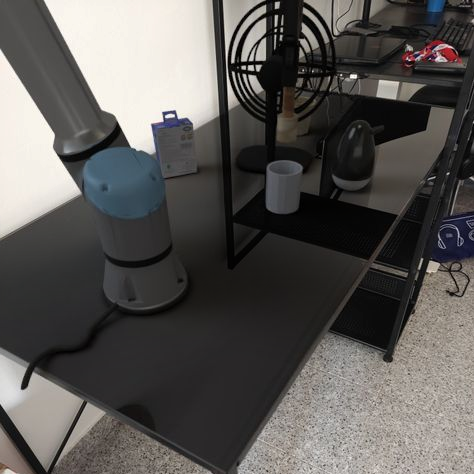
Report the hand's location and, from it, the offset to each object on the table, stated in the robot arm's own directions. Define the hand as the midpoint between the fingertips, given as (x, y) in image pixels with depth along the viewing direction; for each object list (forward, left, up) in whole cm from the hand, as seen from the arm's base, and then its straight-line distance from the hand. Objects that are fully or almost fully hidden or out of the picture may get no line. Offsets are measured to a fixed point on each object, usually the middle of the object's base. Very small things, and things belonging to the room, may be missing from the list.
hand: (289, 83), depth 81 cm
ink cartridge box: (-9, +33, -26) cm, 43 cm away
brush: (0, 0, -10) cm, 10 cm away
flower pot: (+35, +36, -26) cm, 56 cm away
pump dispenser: (+22, 0, -26) cm, 34 cm away
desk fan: (+16, +23, -26) cm, 38 cm away
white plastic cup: (+2, +2, -26) cm, 26 cm away
